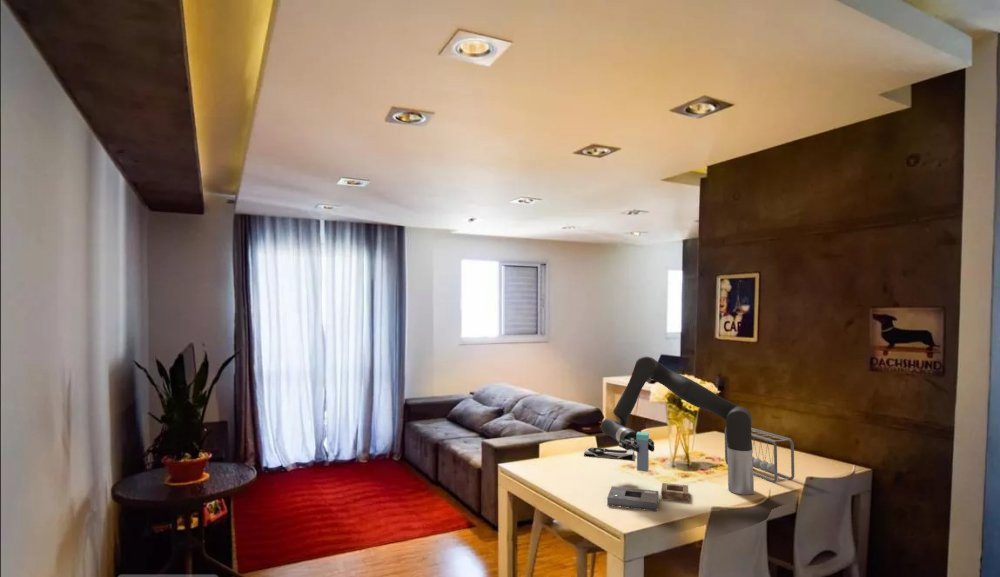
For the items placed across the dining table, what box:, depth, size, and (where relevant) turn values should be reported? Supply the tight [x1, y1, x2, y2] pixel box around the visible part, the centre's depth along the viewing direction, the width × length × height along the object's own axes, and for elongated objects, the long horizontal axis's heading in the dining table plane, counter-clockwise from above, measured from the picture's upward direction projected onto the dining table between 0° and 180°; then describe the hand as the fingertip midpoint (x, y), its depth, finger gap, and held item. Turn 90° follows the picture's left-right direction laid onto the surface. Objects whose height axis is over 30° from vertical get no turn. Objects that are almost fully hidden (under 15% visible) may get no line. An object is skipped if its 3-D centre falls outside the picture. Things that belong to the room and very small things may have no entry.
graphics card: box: [583, 446, 635, 461], centre depth 269 cm, size 10×3×25 cm
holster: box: [660, 482, 689, 503], centre depth 212 cm, size 10×10×3 cm
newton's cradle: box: [724, 427, 795, 483], centre depth 242 cm, size 30×10×18 cm, turn 19°
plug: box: [636, 431, 650, 473], centre depth 209 cm, size 4×4×14 cm
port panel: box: [606, 485, 660, 512], centre depth 206 cm, size 18×13×3 cm
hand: (645, 449), depth 206 cm, fingers closed on plug, 5 cm apart
